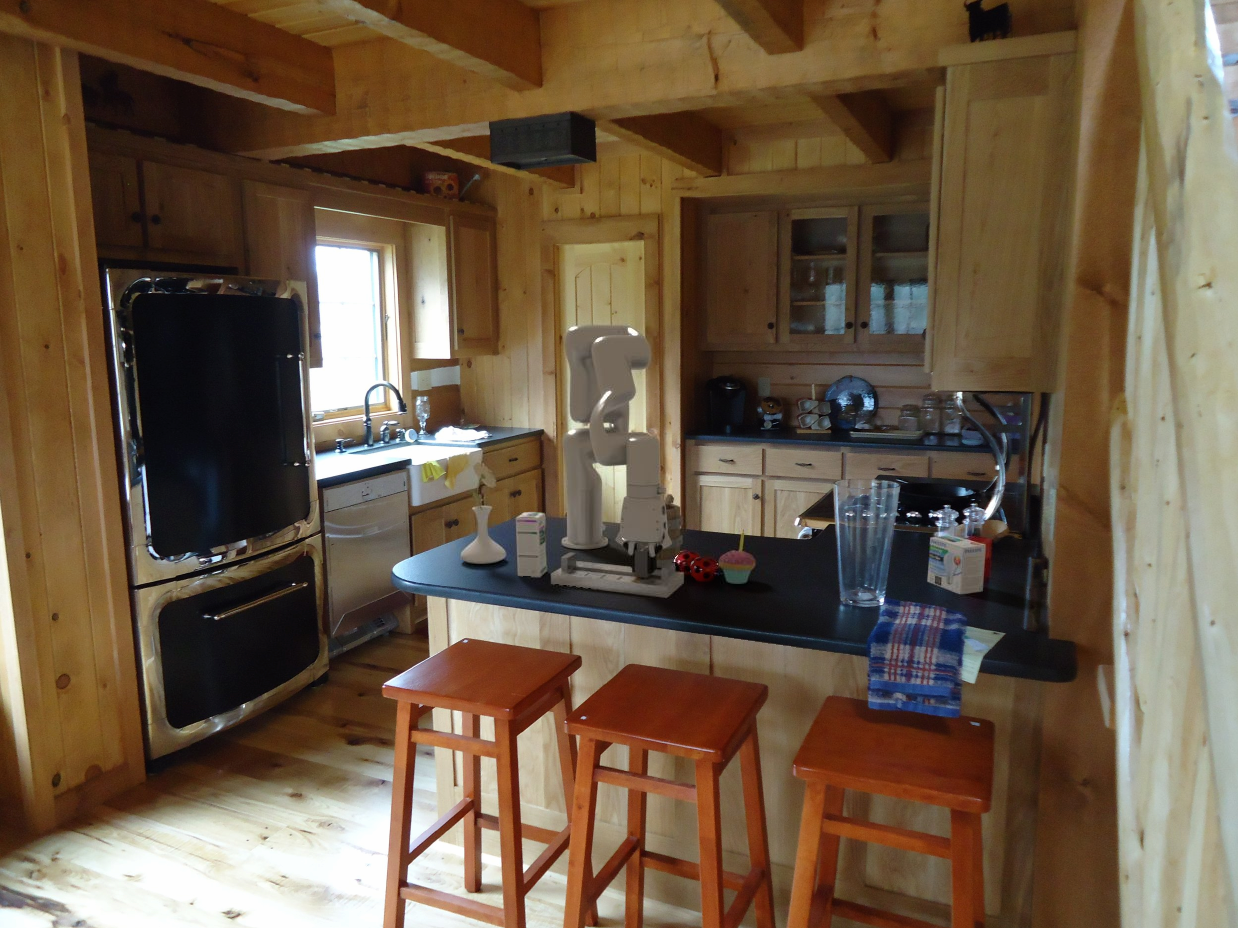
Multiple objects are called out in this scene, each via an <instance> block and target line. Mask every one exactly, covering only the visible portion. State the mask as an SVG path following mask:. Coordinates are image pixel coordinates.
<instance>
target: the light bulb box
mask: <svg viewBox="0 0 1238 928" xmlns="http://www.w3.org/2000/svg"><path fill="white" fill-rule="evenodd" d="M986 546H987V545H986V544H985V543H980V542H979V541H978V542H977V541H973V540H971V539H968V538H963V537H960V536H957V535H953V534H947V535H941V536H932V537H930V540H929V555H928V556H929V557H928V570H927V583H929V584H932V585H935V586H937V587H940V588H942V589H945V590H947V591H949V592H953V593H955V594H959V595H966V594H972V593H981V592H983V589H984V575H985V574H984V573H985V562H986V561H985V560H986V548H987V547H986Z"/></svg>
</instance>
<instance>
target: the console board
mask: <svg viewBox="0 0 1238 928" xmlns="http://www.w3.org/2000/svg"><path fill="white" fill-rule="evenodd" d="M684 578H685V573H684V571H683V572H682V571H681V572H680V571H676V566H675V563H667V564H666V565H665V566H664V567H662V568H661V569H656V570H655V572H654V573H653V574H652V575H650V576H649V577H648V578H644V577H635V573H632V568H631V567H630V566H629V565H628V566H627V565H625V566H624V565H616V564H606V563H598V562H590V561H578V560H577V552H568V553H567V554H565V555H562V556H561V557H560V568H558V569H556V570H555V571H553V572H551V573H550V584H551V585H555V584H559V585H558V586H563V585H567V586H566V587H572V586H576V587H575V588H580V587H583V589H588V588H591V590H597V589H598V590H600V591H606V592H616V593H622V594H623V593H624V594H633V595H641V596H649V597H657V598H658V597H659V598H665V599H666V598H668V597H670V596H671V595H672V594H673V593H674V592H675V591H677V590H678V589H679V588H680V587H681V586H682V585H683V584H684V582H685V579H684ZM568 585H569V586H568Z"/></svg>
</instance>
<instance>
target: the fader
mask: <svg viewBox="0 0 1238 928" xmlns="http://www.w3.org/2000/svg"><path fill="white" fill-rule="evenodd" d="M649 554H650V552H649V547H648V546H641V547H639V548H638V549H636V550H635V577H644V578H648V577H649V576H650V575H652V574H653V573H654V572H653V573H652V574H648V573H647V567H648V557H649Z"/></svg>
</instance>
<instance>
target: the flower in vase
mask: <svg viewBox="0 0 1238 928" xmlns="http://www.w3.org/2000/svg"><path fill="white" fill-rule="evenodd" d="M472 466H473V470H474V474H475V475H476V476H477V478H478V479H479V482H478V484H477V487H476V492H475V491H473V492H472V498H475V499H476V500H477V501H478V504H479V505H478V506H473V507H472V508H471V509H472V511H473V512H474V514H475V516H476V521H477V529H478V532H477V536H476V538H475V539H474V540H473V541H472V542H470V543H469V544H468V545H467V546H466V547H465V548H464V549H463V550H462V551H461V554H460V558H461V560H462V561H465V562H467V563H470V564H476V565H477V564H478V565H480V564H481V565H483V564H485V565H486V564H487V565H488V564H492V563H493V564H494V563H498V562H500V561H502V560H504V559H505V557H506V556H507V552H506V550H505V549H504V548H503V546H501V545H499V543H497V542H495V541H494V540H493V539H492V538H491V537H490V536H489V533H488V522H489V521H488V520H489V516H490V512H491V511H492V510H493V507H492V506H491V505H482V504H481V502H483V501H484V500H486V499H487V498H489V494H487V495H486V496H485V497H483V498H482V499H480V496H479V488H480V485H481V482H482V483H483V484H484V485H485V486H487V487H489V488H492V489H493V488H495V487H497V484H496V482H497V479H496V478H495V475H494V474H493V471H492V470H491V469H489V467H488V466H486V465H485V463H483V462H482V463H481V462H480V461H476V463H475V462H474V464H473V465H472Z"/></svg>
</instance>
